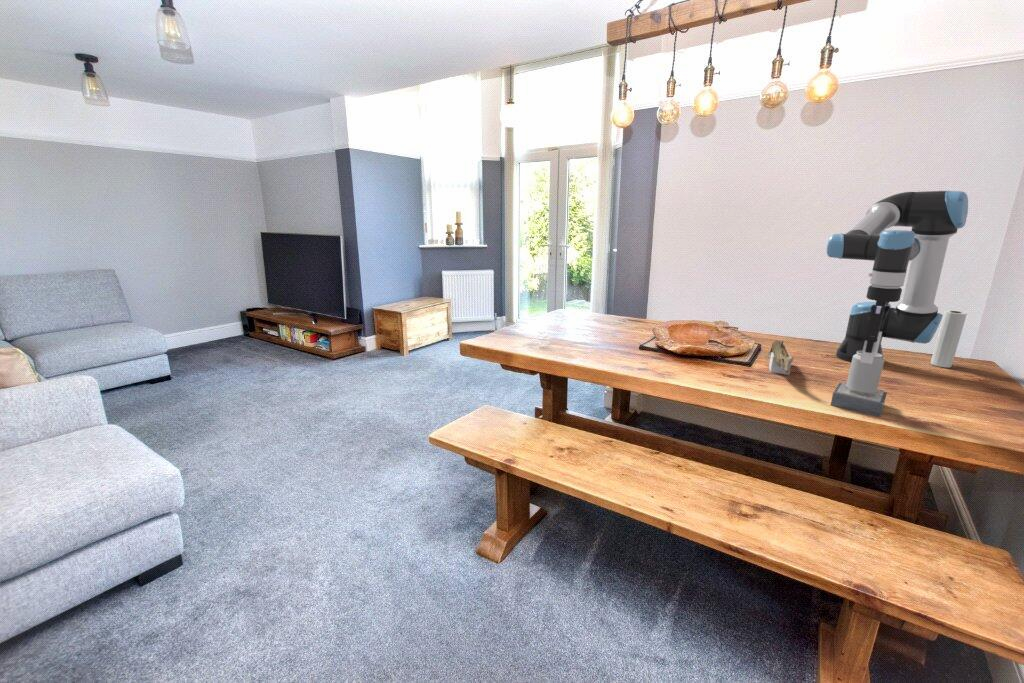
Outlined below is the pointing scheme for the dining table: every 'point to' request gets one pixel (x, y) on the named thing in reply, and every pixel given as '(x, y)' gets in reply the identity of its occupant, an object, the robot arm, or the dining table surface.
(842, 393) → the plinth
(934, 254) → the robot arm
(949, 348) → the paper towel roll
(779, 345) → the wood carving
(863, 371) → the can
